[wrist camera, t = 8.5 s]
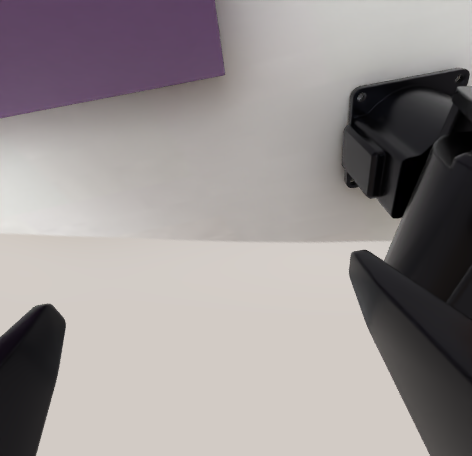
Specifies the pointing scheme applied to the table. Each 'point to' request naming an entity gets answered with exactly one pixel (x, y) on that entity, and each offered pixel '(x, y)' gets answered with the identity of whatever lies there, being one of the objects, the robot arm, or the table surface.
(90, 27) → the lid
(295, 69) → the table surface
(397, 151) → the robot arm
